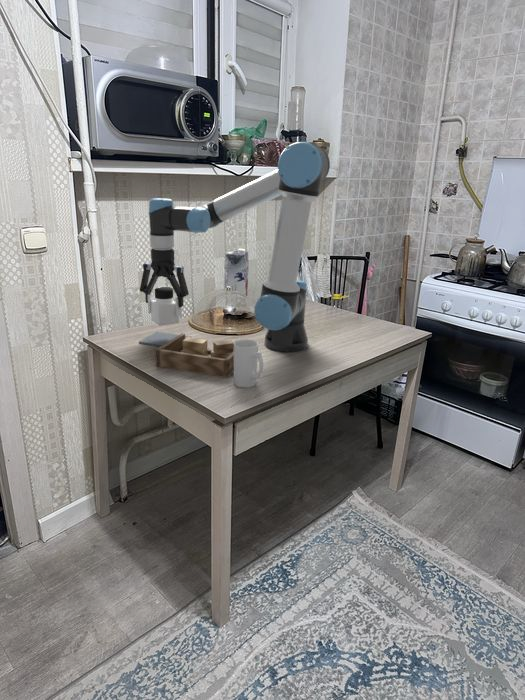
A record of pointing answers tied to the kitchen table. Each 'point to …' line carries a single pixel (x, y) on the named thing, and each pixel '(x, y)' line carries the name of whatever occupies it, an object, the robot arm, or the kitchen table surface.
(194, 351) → the offcut
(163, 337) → the mat
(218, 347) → the offcut upper
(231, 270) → the juice carton
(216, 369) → the tray
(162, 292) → the medicine bottle
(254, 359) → the mug
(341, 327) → the kitchen table surface
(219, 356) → the offcut lower
